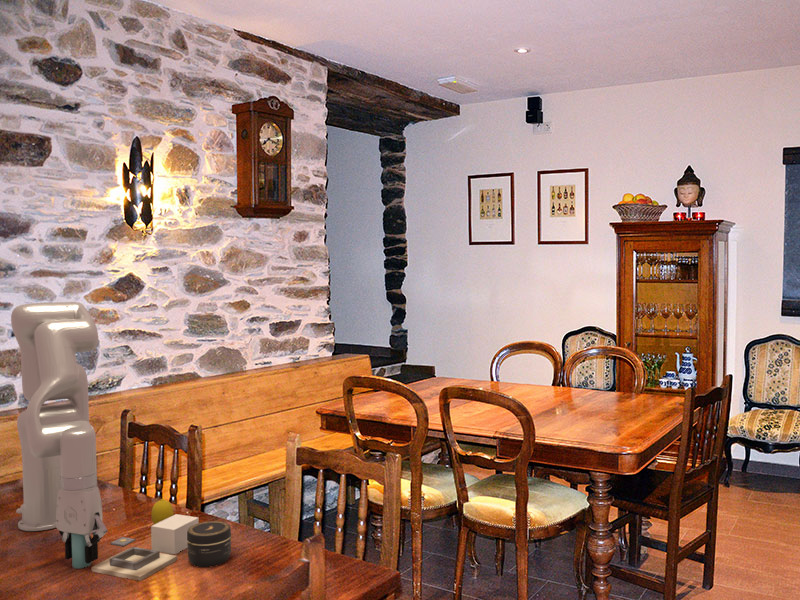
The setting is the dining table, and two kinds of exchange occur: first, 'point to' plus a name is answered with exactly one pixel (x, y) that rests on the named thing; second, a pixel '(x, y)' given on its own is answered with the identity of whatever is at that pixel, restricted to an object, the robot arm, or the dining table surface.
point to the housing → (172, 533)
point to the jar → (209, 543)
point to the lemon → (161, 511)
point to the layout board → (135, 563)
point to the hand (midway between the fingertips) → (81, 558)
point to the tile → (123, 541)
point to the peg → (78, 551)
